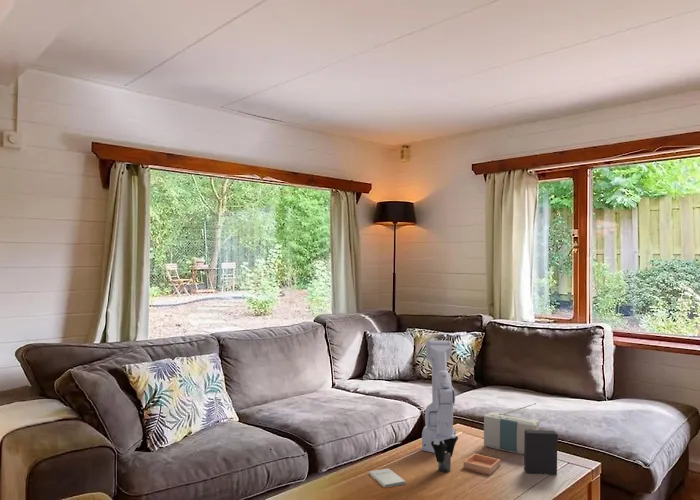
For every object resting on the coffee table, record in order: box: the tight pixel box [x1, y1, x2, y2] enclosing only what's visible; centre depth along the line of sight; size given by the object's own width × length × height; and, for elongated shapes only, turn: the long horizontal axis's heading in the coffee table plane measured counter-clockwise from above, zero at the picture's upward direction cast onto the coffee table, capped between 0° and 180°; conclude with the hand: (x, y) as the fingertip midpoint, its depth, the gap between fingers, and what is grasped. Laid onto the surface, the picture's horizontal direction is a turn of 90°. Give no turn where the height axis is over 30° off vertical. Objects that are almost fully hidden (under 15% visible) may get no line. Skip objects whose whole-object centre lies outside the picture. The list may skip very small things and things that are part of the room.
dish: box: [463, 453, 501, 476], centre depth 203 cm, size 10×10×2 cm
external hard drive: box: [368, 468, 407, 488], centre depth 192 cm, size 2×8×12 cm
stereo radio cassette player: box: [483, 402, 540, 456], centre depth 221 cm, size 21×8×20 cm, turn 55°
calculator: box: [523, 429, 559, 476], centre depth 199 cm, size 11×4×15 cm, turn 84°
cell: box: [437, 450, 452, 474], centre depth 200 cm, size 4×4×7 cm
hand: (444, 459), depth 200 cm, fingers open, 7 cm apart
